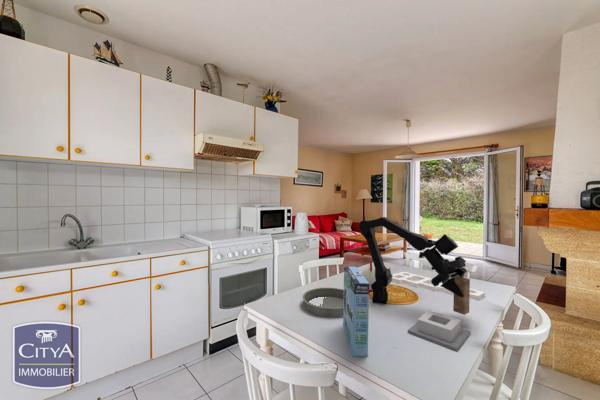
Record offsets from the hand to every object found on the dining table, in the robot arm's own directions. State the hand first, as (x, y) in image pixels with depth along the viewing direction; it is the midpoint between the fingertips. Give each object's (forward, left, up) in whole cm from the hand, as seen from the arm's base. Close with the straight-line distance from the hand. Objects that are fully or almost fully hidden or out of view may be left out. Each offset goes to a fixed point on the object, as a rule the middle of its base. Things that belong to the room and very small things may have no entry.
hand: (465, 295), depth 101 cm
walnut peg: (-1, +1, -7) cm, 7 cm away
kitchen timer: (-35, +33, -12) cm, 50 cm away
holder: (-3, +44, -12) cm, 46 cm away
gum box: (-40, -22, -12) cm, 48 cm away
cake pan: (-53, +4, -12) cm, 55 cm away
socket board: (-11, -9, -12) cm, 18 cm away
